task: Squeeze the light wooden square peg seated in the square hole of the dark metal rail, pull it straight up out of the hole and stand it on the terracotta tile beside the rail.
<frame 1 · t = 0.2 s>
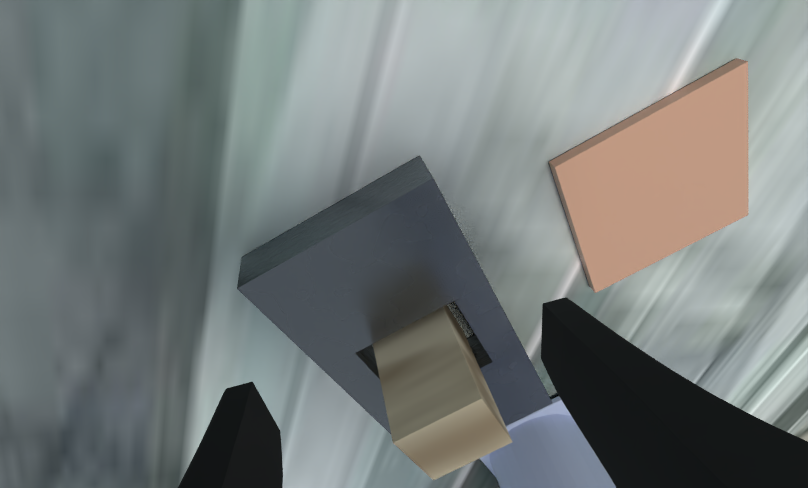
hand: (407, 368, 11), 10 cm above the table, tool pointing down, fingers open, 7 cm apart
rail: (417, 327, 25), on the table
peg: (434, 377, 22), in the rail
tile: (652, 187, 23), on the table
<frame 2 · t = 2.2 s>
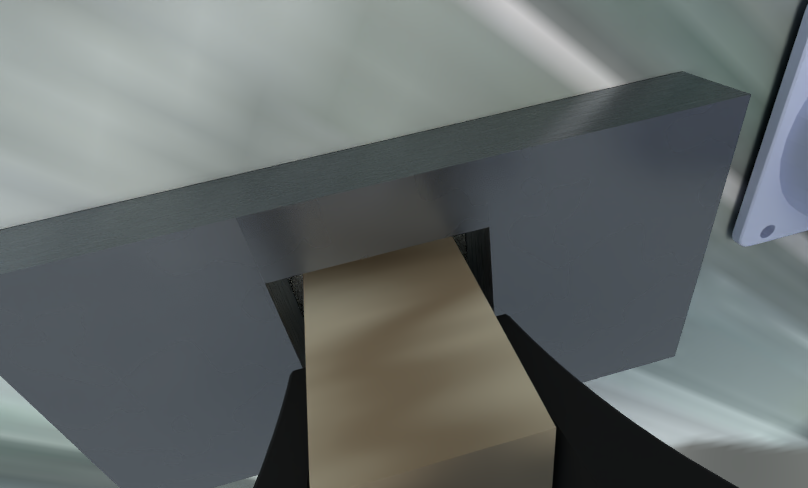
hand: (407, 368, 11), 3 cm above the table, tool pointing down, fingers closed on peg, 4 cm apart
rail: (384, 283, 14), on the table
peg: (408, 370, 11), in the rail, touching gripper
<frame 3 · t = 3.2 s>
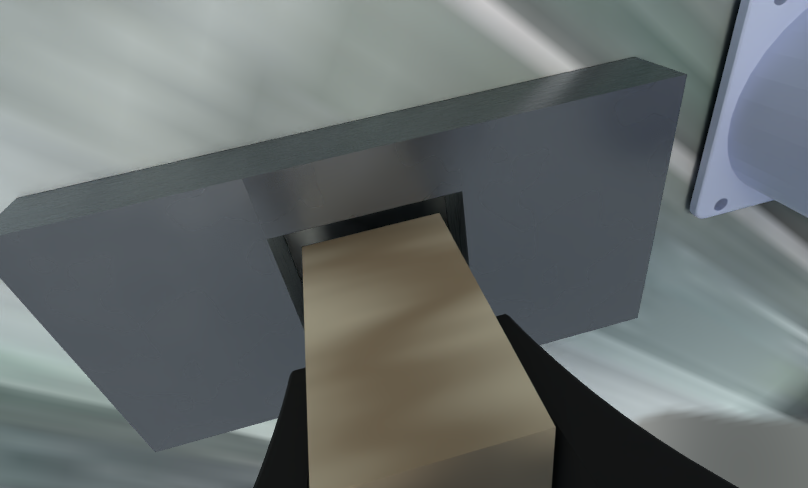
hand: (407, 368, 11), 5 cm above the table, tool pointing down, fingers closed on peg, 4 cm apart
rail: (373, 249, 15), on the table
peg: (407, 370, 11), point 5 cm above the table, touching gripper
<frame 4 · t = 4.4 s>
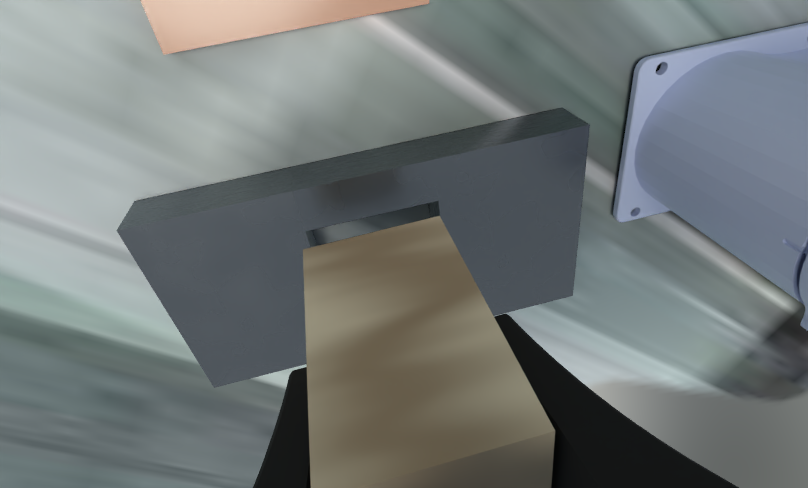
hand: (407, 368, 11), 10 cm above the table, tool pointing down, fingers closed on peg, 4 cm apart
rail: (376, 241, 21), on the table
peg: (408, 373, 11), point 10 cm above the table, touching gripper
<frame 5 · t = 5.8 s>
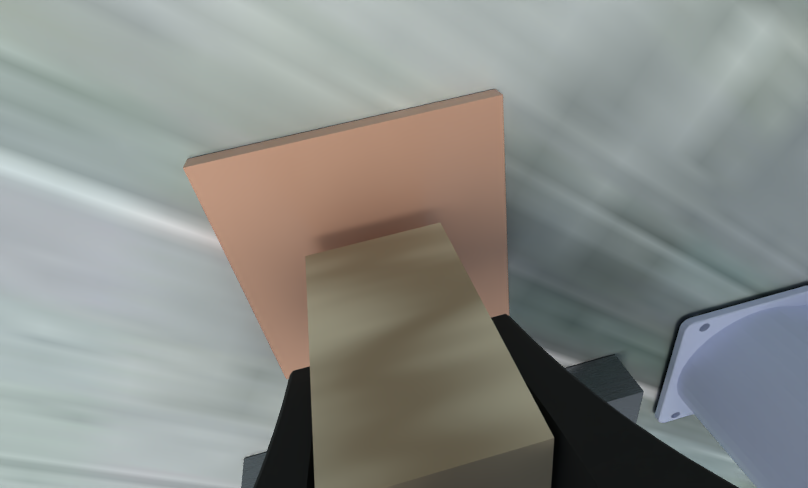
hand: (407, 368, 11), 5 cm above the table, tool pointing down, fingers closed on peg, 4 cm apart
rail: (445, 455, 24), on the table
peg: (409, 378, 11), point 5 cm above the table, touching gripper
tile: (375, 248, 15), on the table
when the fingers open (5 cm above the table, at t = 6.6 s): peg drops 1 cm, resting on tile.
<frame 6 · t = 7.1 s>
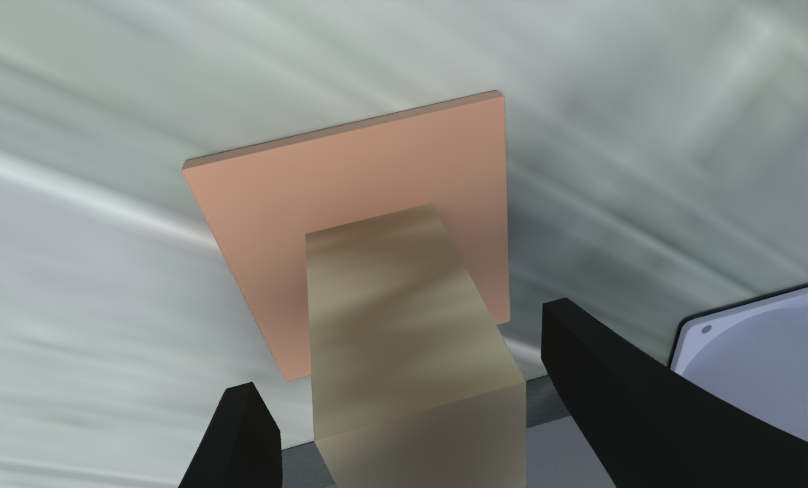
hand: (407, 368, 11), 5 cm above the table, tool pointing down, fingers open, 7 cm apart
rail: (445, 458, 23), on the table
peg: (401, 344, 12), on the tile, point 4 cm above the table
tile: (375, 250, 15), on the table
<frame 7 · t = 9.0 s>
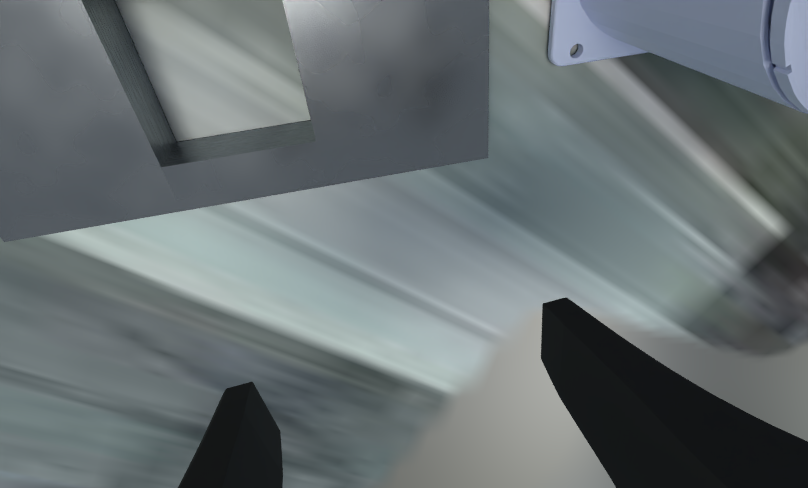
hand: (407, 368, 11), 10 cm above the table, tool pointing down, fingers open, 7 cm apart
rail: (222, 58, 16), on the table
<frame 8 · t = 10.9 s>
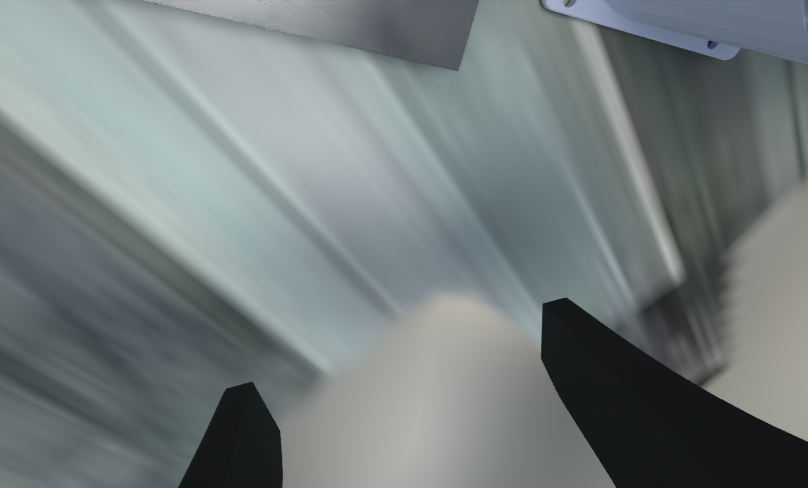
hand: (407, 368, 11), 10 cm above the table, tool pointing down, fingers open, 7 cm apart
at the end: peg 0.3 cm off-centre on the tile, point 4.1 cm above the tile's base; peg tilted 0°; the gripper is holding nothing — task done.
